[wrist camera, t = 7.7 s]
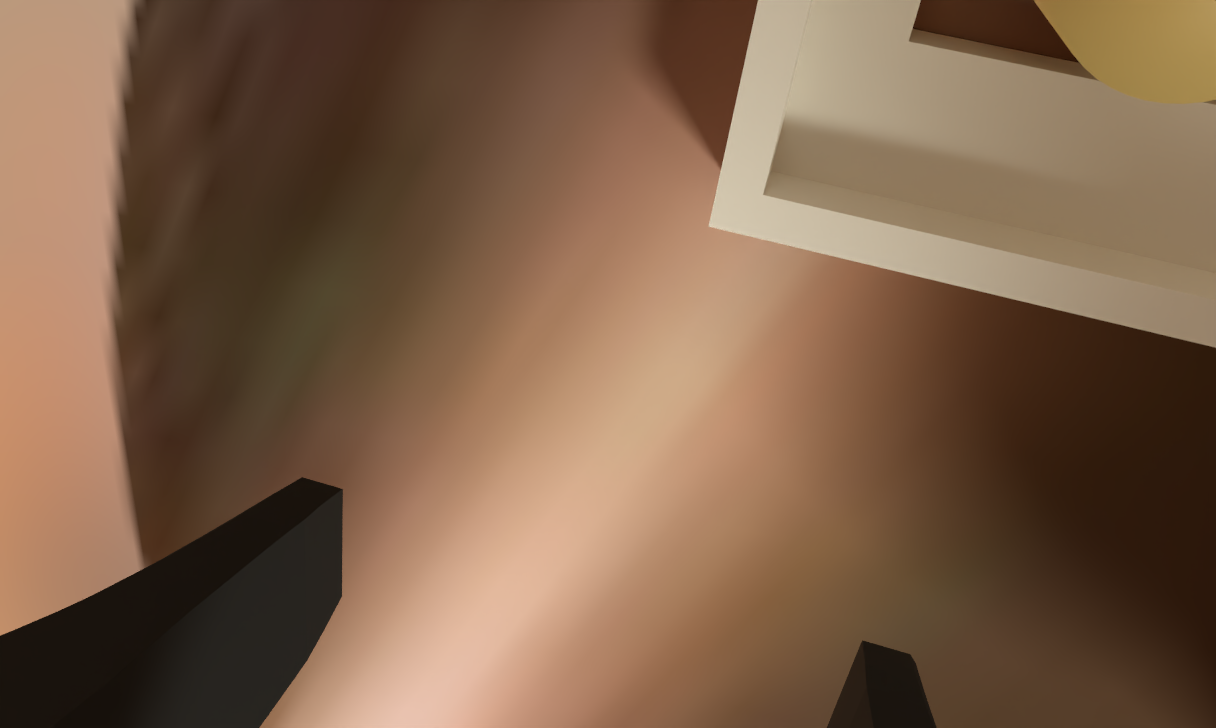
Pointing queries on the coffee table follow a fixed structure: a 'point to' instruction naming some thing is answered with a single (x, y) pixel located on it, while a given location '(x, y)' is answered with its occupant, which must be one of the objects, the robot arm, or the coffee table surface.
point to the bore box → (971, 167)
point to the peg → (1142, 45)
